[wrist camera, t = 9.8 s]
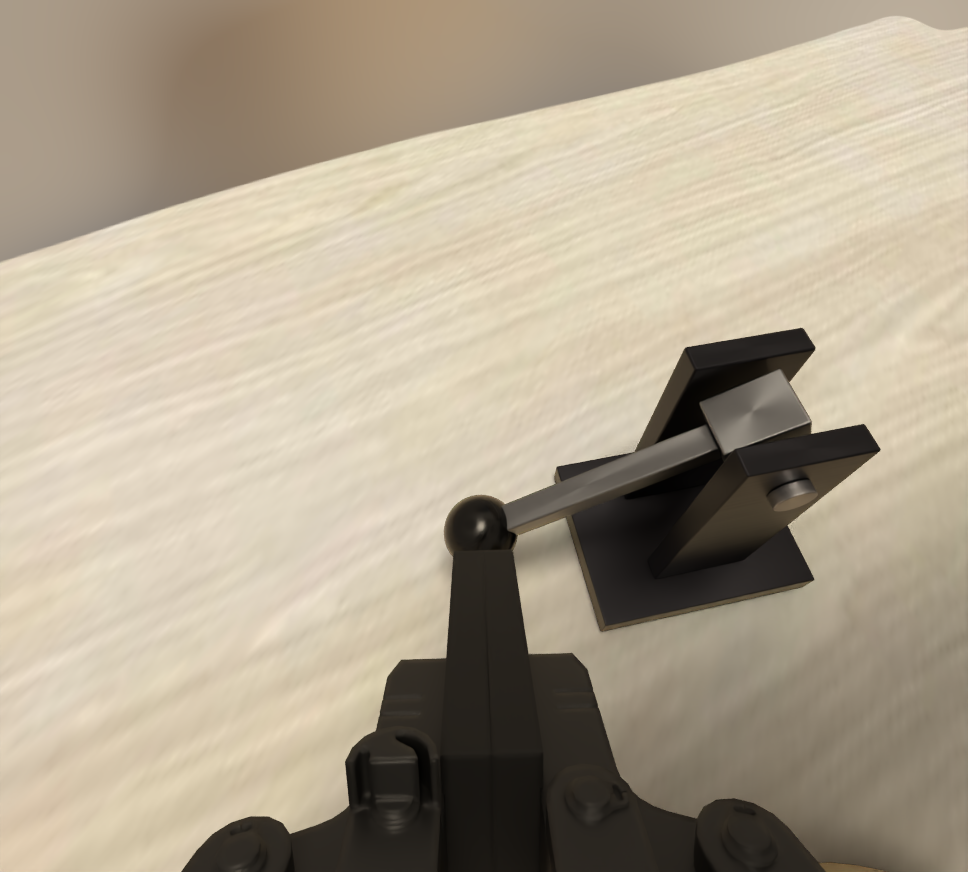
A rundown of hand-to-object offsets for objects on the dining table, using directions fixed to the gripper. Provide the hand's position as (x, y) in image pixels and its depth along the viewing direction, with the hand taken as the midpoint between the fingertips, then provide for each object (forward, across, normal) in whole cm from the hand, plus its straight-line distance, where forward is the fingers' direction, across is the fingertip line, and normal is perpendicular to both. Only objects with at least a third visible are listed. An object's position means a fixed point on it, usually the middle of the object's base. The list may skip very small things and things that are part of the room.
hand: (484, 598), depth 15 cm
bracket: (+13, +10, -4) cm, 17 cm away
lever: (+8, +5, 0) cm, 10 cm away
